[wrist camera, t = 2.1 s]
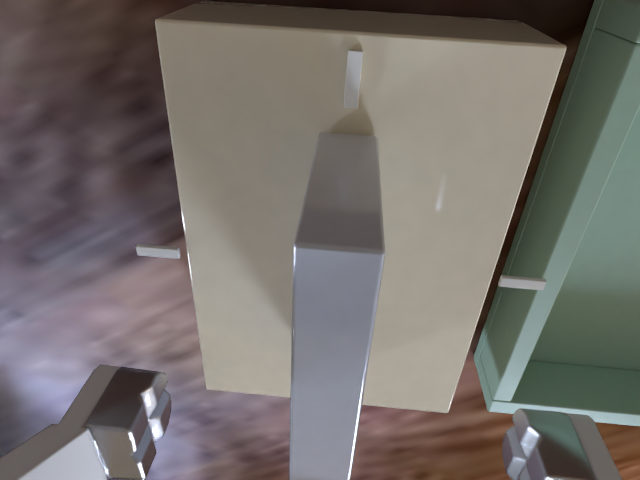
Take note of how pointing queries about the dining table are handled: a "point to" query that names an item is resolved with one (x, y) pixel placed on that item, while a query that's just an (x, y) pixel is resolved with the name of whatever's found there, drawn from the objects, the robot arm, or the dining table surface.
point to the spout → (334, 303)
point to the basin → (578, 246)
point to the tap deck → (395, 172)
